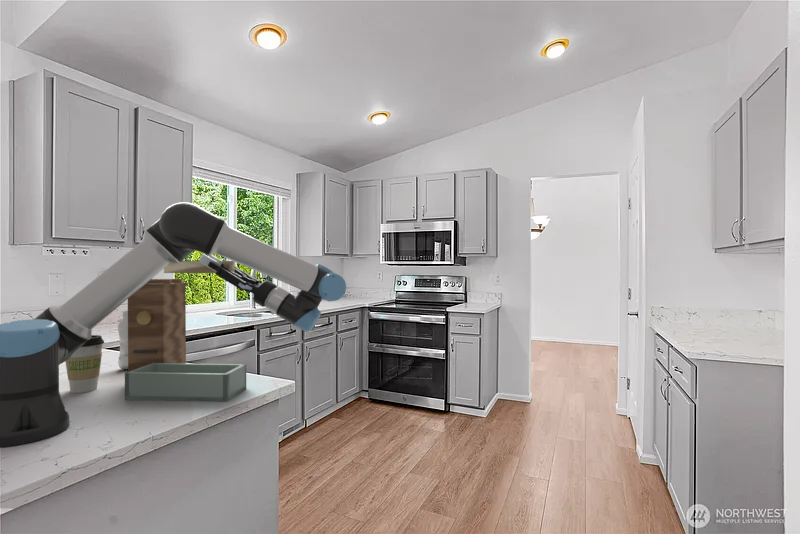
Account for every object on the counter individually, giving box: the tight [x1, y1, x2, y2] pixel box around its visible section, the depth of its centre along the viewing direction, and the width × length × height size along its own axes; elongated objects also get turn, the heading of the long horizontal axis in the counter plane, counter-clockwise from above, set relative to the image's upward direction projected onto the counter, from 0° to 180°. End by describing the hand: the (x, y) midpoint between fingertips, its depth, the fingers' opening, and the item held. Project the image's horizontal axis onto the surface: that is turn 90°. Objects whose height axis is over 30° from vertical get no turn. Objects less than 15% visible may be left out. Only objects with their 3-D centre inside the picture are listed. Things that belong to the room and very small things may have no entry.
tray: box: [124, 362, 247, 402], centre depth 123 cm, size 12×28×7 cm, turn 86°
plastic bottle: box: [117, 309, 128, 370], centre depth 152 cm, size 6×7×20 cm
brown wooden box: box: [127, 278, 189, 372], centre depth 138 cm, size 14×12×31 cm
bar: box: [163, 260, 235, 274], centre depth 134 cm, size 4×20×4 cm, turn 87°
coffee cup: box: [64, 334, 105, 394], centre depth 127 cm, size 10×10×15 cm
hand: (204, 258), depth 134 cm, fingers closed on bar, 4 cm apart
